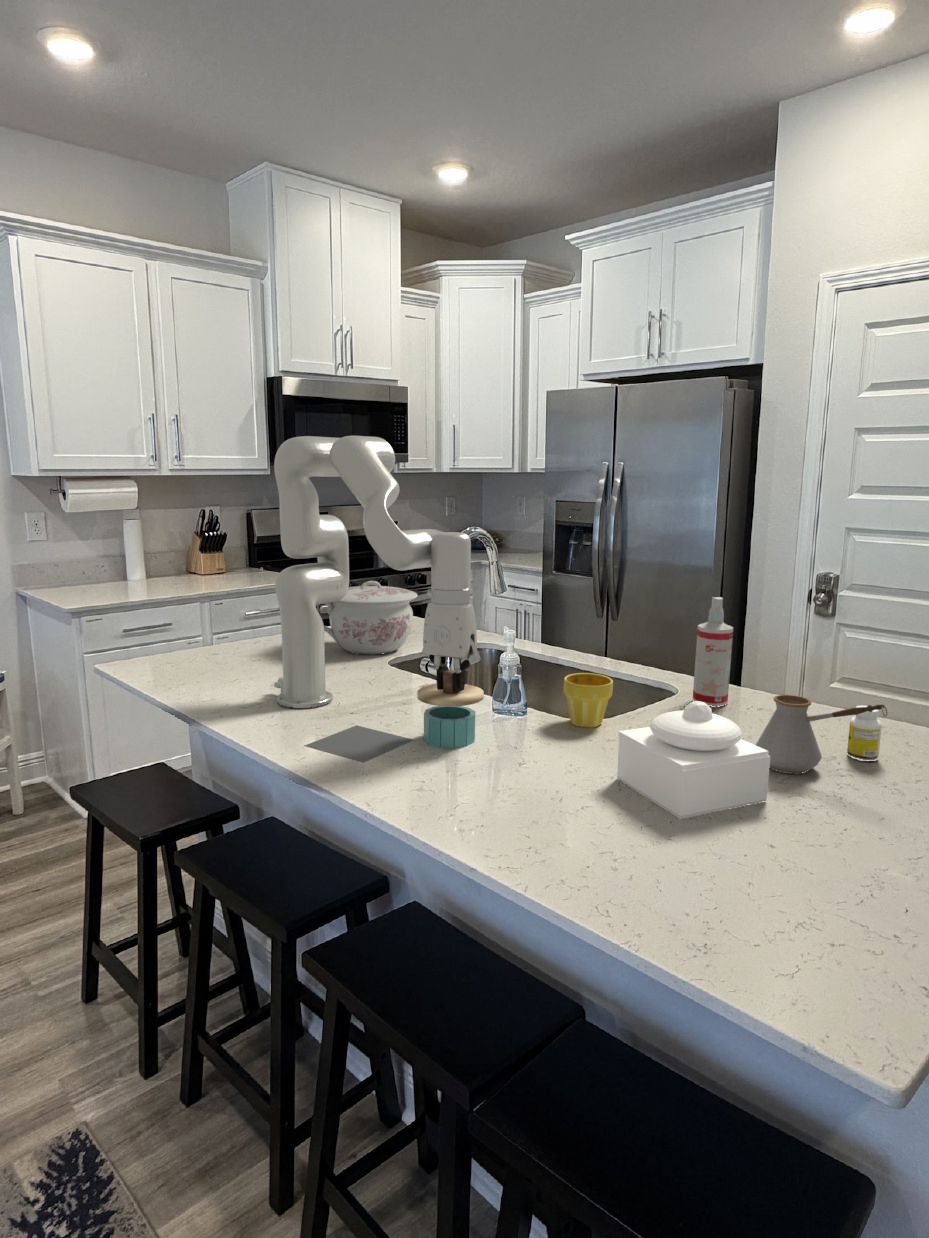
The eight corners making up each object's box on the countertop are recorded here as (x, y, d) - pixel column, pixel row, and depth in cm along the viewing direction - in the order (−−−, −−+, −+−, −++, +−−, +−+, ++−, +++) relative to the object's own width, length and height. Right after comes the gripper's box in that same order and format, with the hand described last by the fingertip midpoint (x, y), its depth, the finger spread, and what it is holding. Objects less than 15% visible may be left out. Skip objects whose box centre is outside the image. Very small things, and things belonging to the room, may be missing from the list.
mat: (304, 748, 153) (304, 745, 153) (356, 727, 165) (356, 725, 165) (363, 765, 145) (363, 762, 144) (413, 742, 157) (413, 739, 157)
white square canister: (680, 820, 124) (686, 723, 121) (615, 778, 140) (619, 692, 137) (766, 803, 131) (775, 710, 128) (695, 765, 147) (701, 682, 144)
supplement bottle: (852, 750, 155) (857, 702, 153) (882, 757, 152) (887, 708, 150) (842, 757, 152) (847, 708, 150) (872, 765, 148) (877, 714, 146)
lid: (403, 699, 154) (403, 674, 153) (442, 684, 164) (442, 661, 164) (459, 710, 147) (459, 684, 146) (496, 694, 157) (496, 670, 157)
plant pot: (610, 732, 164) (612, 686, 162) (560, 728, 166) (562, 683, 164) (611, 717, 174) (613, 674, 172) (564, 713, 176) (565, 671, 174)
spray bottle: (714, 696, 191) (722, 594, 186) (733, 705, 184) (742, 599, 179) (686, 699, 188) (693, 595, 184) (705, 708, 181) (712, 600, 177)
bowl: (414, 743, 156) (414, 714, 155) (443, 730, 164) (443, 702, 163) (455, 754, 151) (456, 724, 150) (484, 739, 159) (484, 711, 158)
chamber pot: (433, 645, 242) (434, 578, 238) (389, 665, 218) (388, 590, 214) (355, 636, 253) (354, 572, 249) (304, 654, 229) (302, 583, 225)
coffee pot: (743, 767, 146) (750, 688, 143) (766, 751, 155) (773, 676, 152) (869, 799, 132) (879, 713, 129) (886, 779, 141) (896, 698, 138)
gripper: (405, 595, 153) (405, 687, 157) (475, 604, 144) (475, 701, 148) (428, 591, 160) (428, 679, 163) (497, 598, 151) (496, 692, 154)
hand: (450, 688), depth 155 cm, fingers closed on lid, 3 cm apart
